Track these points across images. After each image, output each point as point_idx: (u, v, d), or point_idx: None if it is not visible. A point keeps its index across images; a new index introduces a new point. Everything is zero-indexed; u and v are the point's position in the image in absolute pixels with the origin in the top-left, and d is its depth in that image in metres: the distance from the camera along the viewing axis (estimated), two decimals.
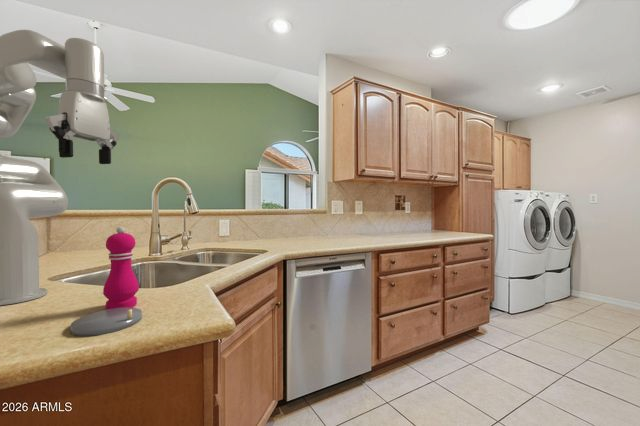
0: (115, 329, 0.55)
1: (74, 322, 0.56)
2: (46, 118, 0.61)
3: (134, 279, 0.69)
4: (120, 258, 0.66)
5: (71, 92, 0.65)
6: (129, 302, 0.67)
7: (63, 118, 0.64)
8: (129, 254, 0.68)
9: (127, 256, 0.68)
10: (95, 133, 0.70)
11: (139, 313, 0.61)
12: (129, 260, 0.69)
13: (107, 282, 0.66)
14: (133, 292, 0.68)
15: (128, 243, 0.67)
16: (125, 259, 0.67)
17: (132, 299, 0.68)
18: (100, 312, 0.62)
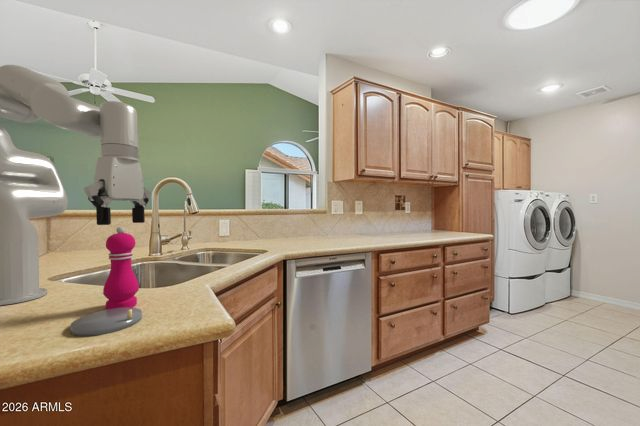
0: (115, 329, 0.55)
1: (74, 322, 0.56)
2: (85, 189, 0.60)
3: (134, 279, 0.69)
4: (120, 258, 0.66)
5: (108, 158, 0.64)
6: (129, 302, 0.67)
7: (101, 186, 0.62)
8: (129, 254, 0.68)
9: (127, 256, 0.68)
10: (130, 195, 0.68)
11: (139, 313, 0.61)
12: (129, 260, 0.69)
13: (107, 282, 0.66)
14: (133, 292, 0.68)
15: (128, 243, 0.67)
16: (125, 259, 0.67)
17: (132, 299, 0.68)
18: (100, 312, 0.62)
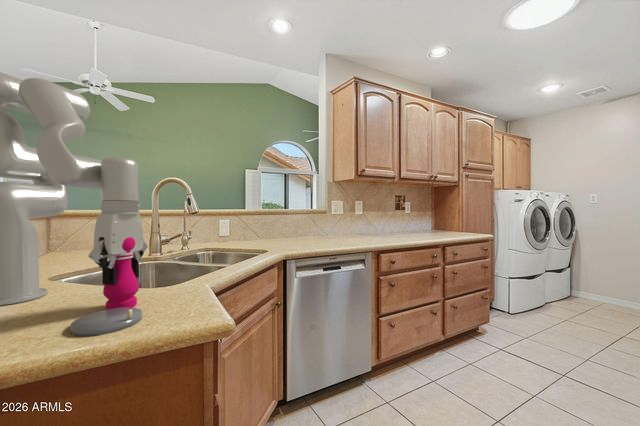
0: (115, 329, 0.55)
1: (74, 322, 0.56)
2: (90, 256, 0.61)
3: (134, 279, 0.69)
4: (120, 258, 0.66)
5: (108, 215, 0.64)
6: (129, 302, 0.67)
7: (103, 247, 0.63)
8: (129, 254, 0.68)
9: (127, 256, 0.68)
10: None
11: (139, 313, 0.61)
12: (129, 260, 0.69)
13: None
14: (133, 292, 0.68)
15: (128, 243, 0.67)
16: (125, 259, 0.67)
17: (132, 299, 0.68)
18: (100, 312, 0.62)
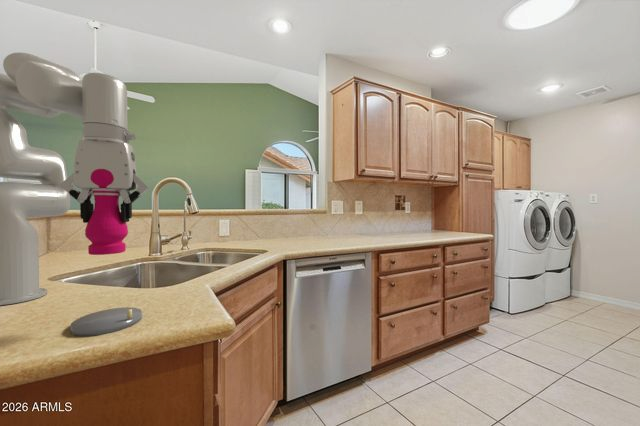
0: (115, 329, 0.55)
1: (74, 322, 0.56)
2: None
3: (107, 221, 0.56)
4: (93, 193, 0.56)
5: None
6: (97, 247, 0.55)
7: None
8: (102, 190, 0.56)
9: (99, 191, 0.56)
10: None
11: (139, 313, 0.61)
12: (105, 198, 0.57)
13: None
14: (100, 236, 0.55)
15: (96, 175, 0.55)
16: (98, 195, 0.56)
17: (104, 245, 0.56)
18: (100, 312, 0.62)
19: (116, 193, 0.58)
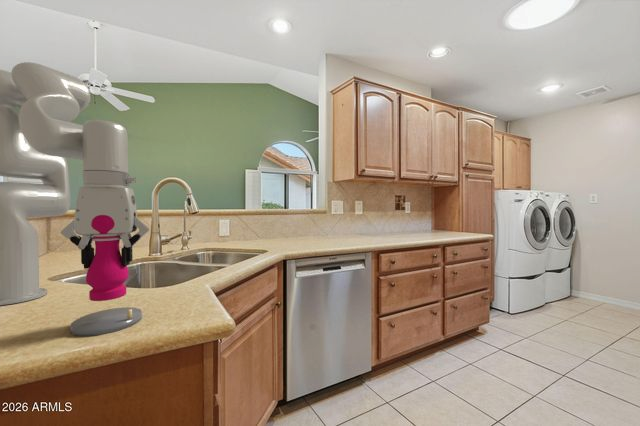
0: (115, 329, 0.55)
1: (74, 322, 0.56)
2: None
3: (107, 267, 0.56)
4: (94, 239, 0.56)
5: (79, 188, 0.56)
6: (98, 294, 0.56)
7: None
8: (102, 236, 0.56)
9: (100, 238, 0.56)
10: None
11: (139, 313, 0.61)
12: (106, 243, 0.57)
13: None
14: (101, 283, 0.55)
15: (96, 222, 0.55)
16: (98, 241, 0.56)
17: (105, 291, 0.56)
18: (100, 312, 0.62)
19: (117, 238, 0.58)
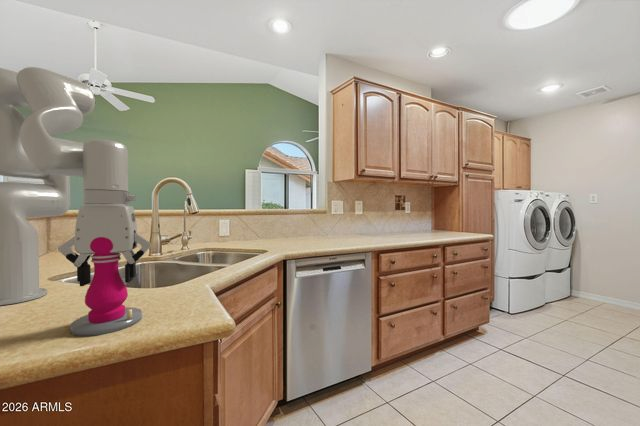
0: (115, 329, 0.55)
1: (74, 322, 0.56)
2: None
3: (106, 289, 0.56)
4: (92, 261, 0.56)
5: None
6: (97, 316, 0.56)
7: (74, 242, 0.56)
8: (101, 258, 0.56)
9: (99, 260, 0.56)
10: None
11: (139, 313, 0.61)
12: (105, 265, 0.57)
13: None
14: (100, 305, 0.55)
15: (95, 244, 0.55)
16: (97, 263, 0.56)
17: (103, 313, 0.56)
18: None
19: (115, 259, 0.58)
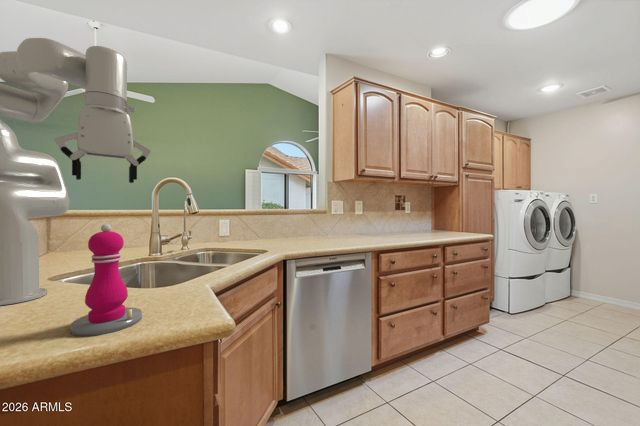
0: (115, 329, 0.55)
1: (74, 322, 0.56)
2: None
3: (106, 289, 0.56)
4: (93, 261, 0.56)
5: (82, 108, 0.60)
6: (97, 316, 0.56)
7: (72, 137, 0.59)
8: (102, 258, 0.56)
9: (99, 259, 0.56)
10: (109, 149, 0.62)
11: (139, 313, 0.61)
12: (105, 265, 0.57)
13: None
14: (100, 305, 0.55)
15: (95, 244, 0.56)
16: (98, 263, 0.56)
17: (103, 313, 0.56)
18: None
19: (116, 259, 0.58)
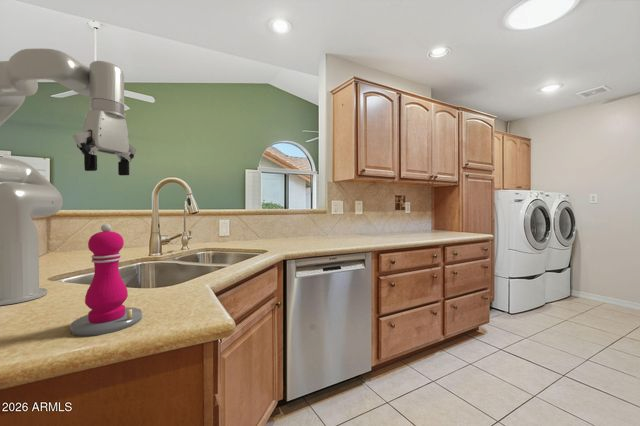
0: (115, 329, 0.55)
1: (74, 322, 0.56)
2: (74, 136, 0.67)
3: (106, 289, 0.56)
4: (93, 261, 0.56)
5: (95, 111, 0.71)
6: (97, 316, 0.56)
7: (88, 135, 0.70)
8: (102, 258, 0.56)
9: (99, 259, 0.56)
10: (116, 148, 0.76)
11: (139, 313, 0.61)
12: (105, 265, 0.57)
13: None
14: (100, 305, 0.55)
15: (95, 244, 0.56)
16: (98, 263, 0.56)
17: (103, 313, 0.56)
18: None
19: (116, 259, 0.58)
